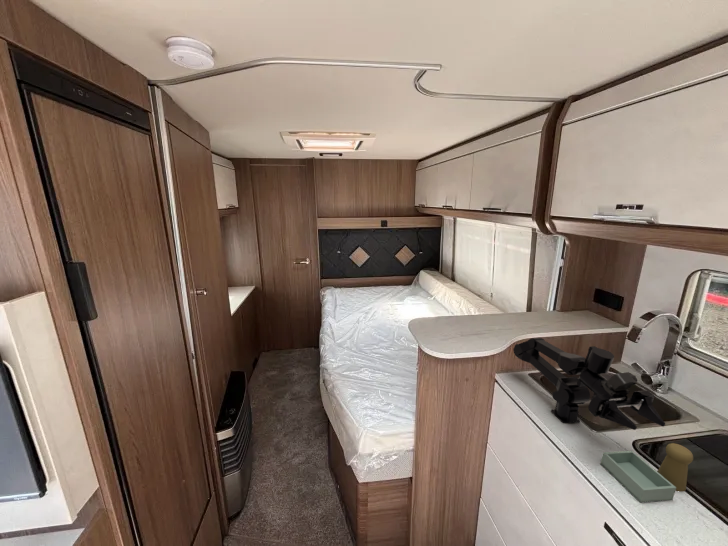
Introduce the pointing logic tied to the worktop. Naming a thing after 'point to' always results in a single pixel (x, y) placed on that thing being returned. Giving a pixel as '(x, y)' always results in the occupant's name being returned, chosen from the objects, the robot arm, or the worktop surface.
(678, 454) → the cork
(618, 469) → the tray
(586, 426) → the worktop surface
